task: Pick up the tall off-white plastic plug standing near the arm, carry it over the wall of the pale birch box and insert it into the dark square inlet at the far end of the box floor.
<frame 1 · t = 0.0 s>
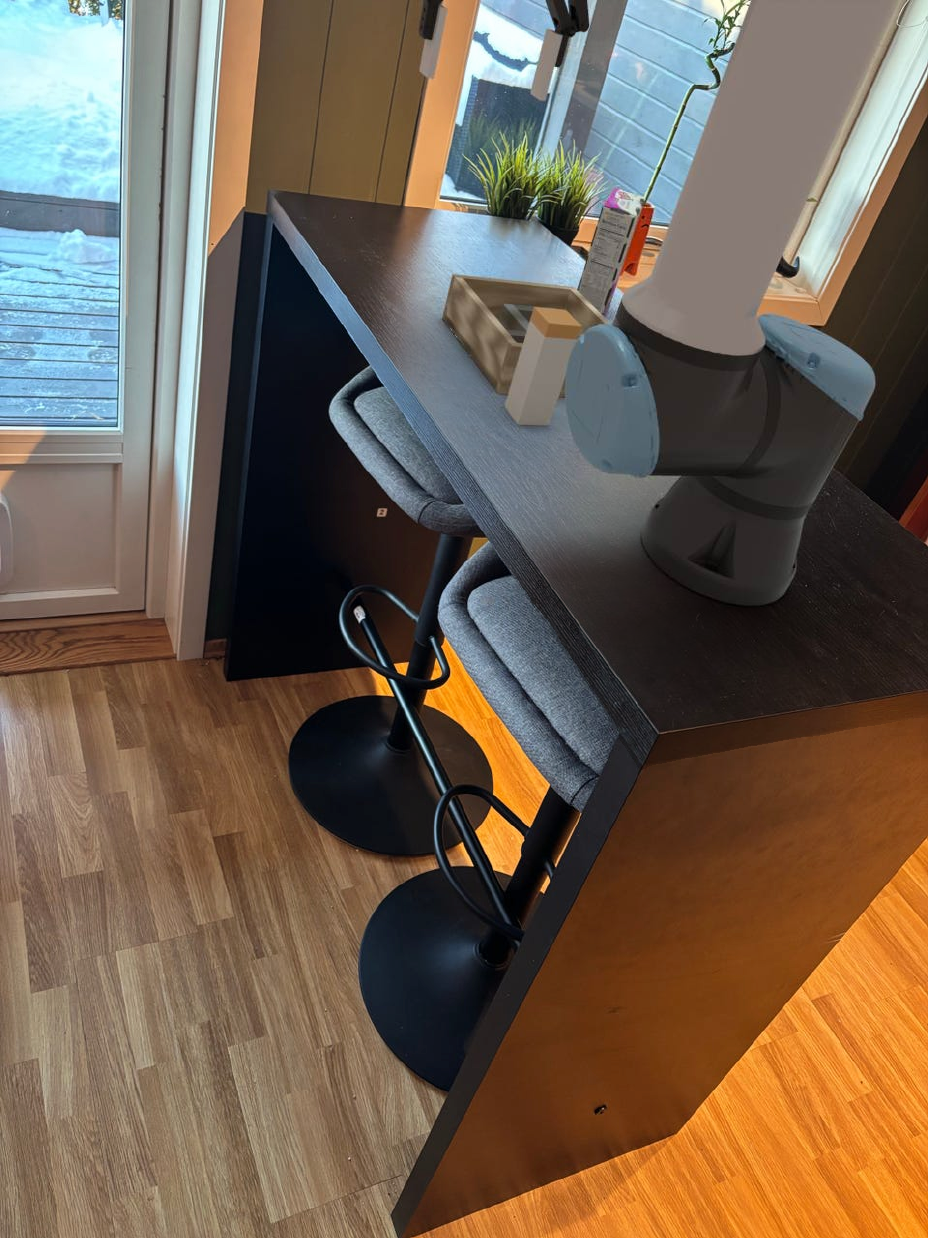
hand: (483, 86, 105), 28 cm above the table, fingers open, 13 cm apart
walled box: (532, 358, 122), on the table
candy bar box: (587, 315, 140), on the table
plug: (526, 416, 109), on the table
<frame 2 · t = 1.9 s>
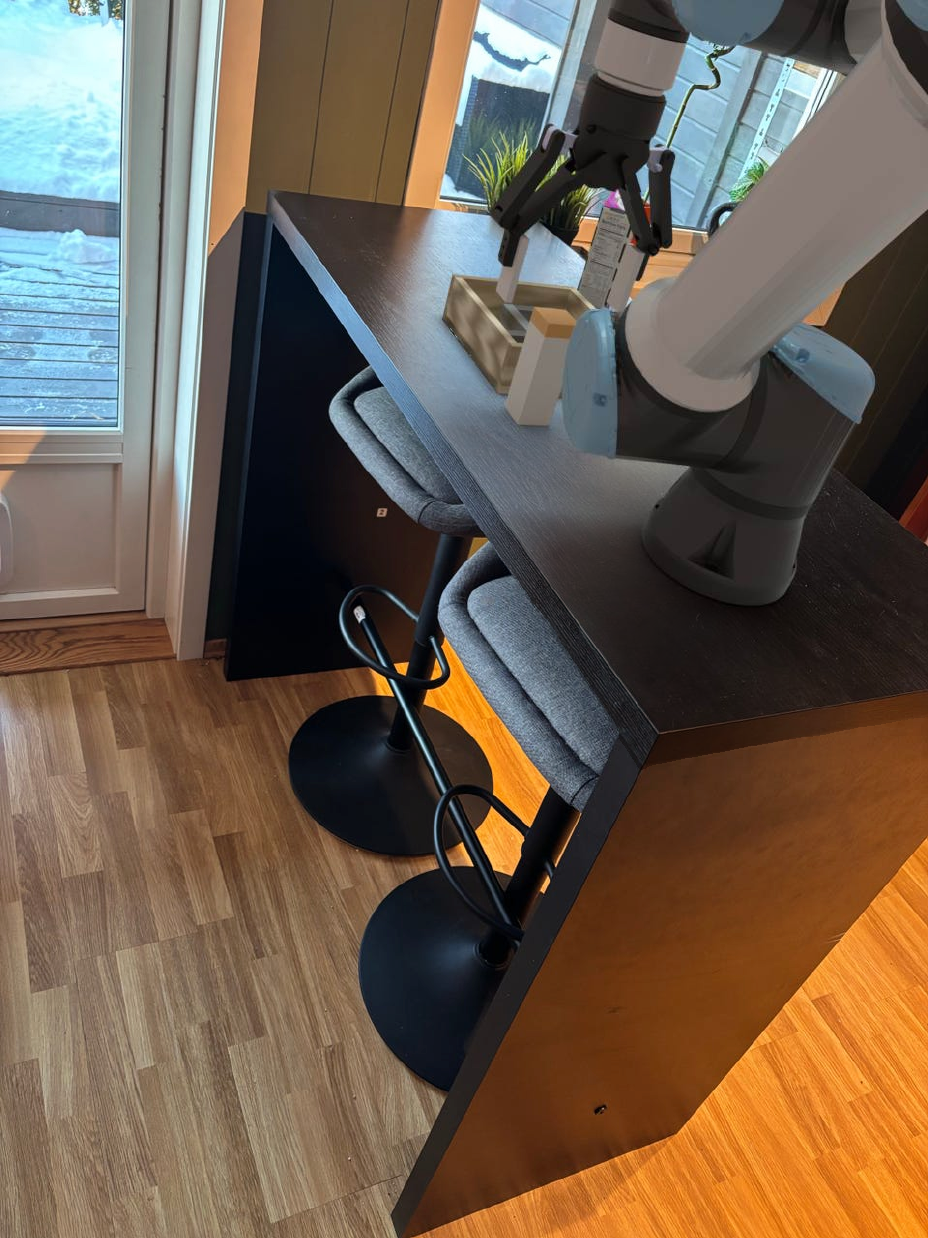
hand: (560, 302, 101), 13 cm above the table, fingers open, 13 cm apart
nothing on the table moved.
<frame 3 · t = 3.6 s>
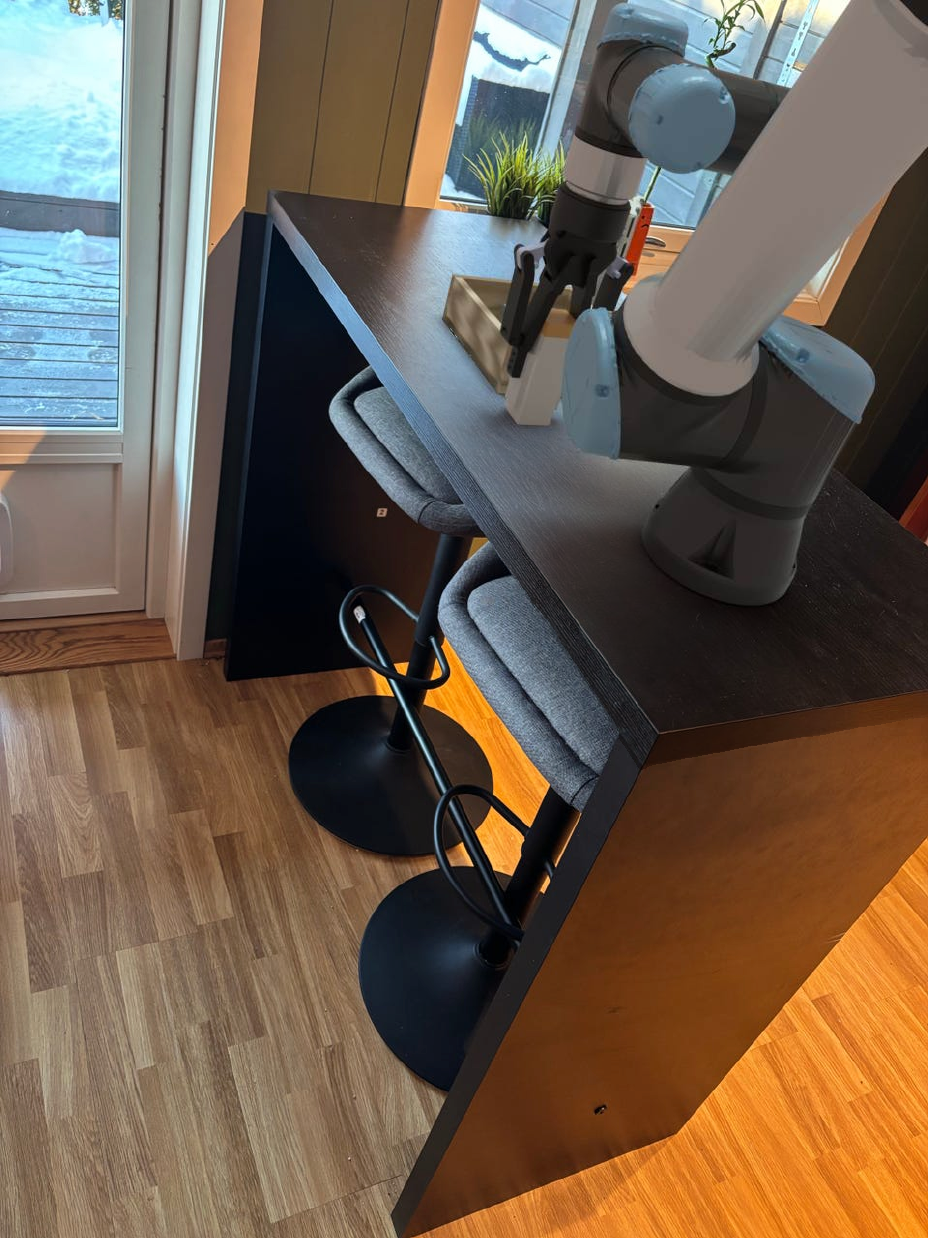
hand: (530, 402, 108), 2 cm above the table, fingers closed on plug, 4 cm apart
plug: (526, 416, 109), on the table, touching gripper
everything else where it was.
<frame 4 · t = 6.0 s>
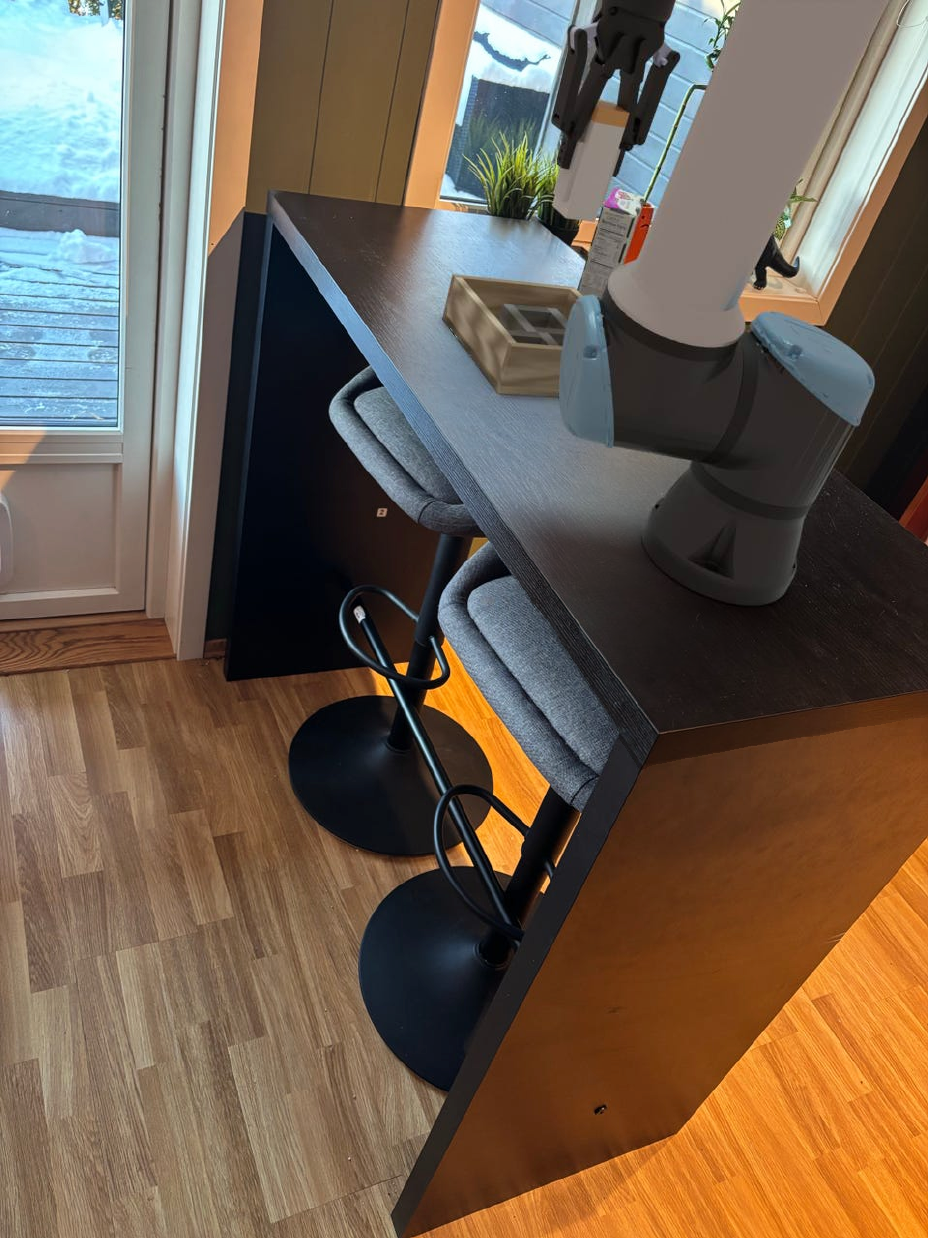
hand: (577, 199, 113), 19 cm above the table, fingers closed on plug, 4 cm apart
plug: (573, 213, 114), point 17 cm above the table, touching gripper
everything else where it was.
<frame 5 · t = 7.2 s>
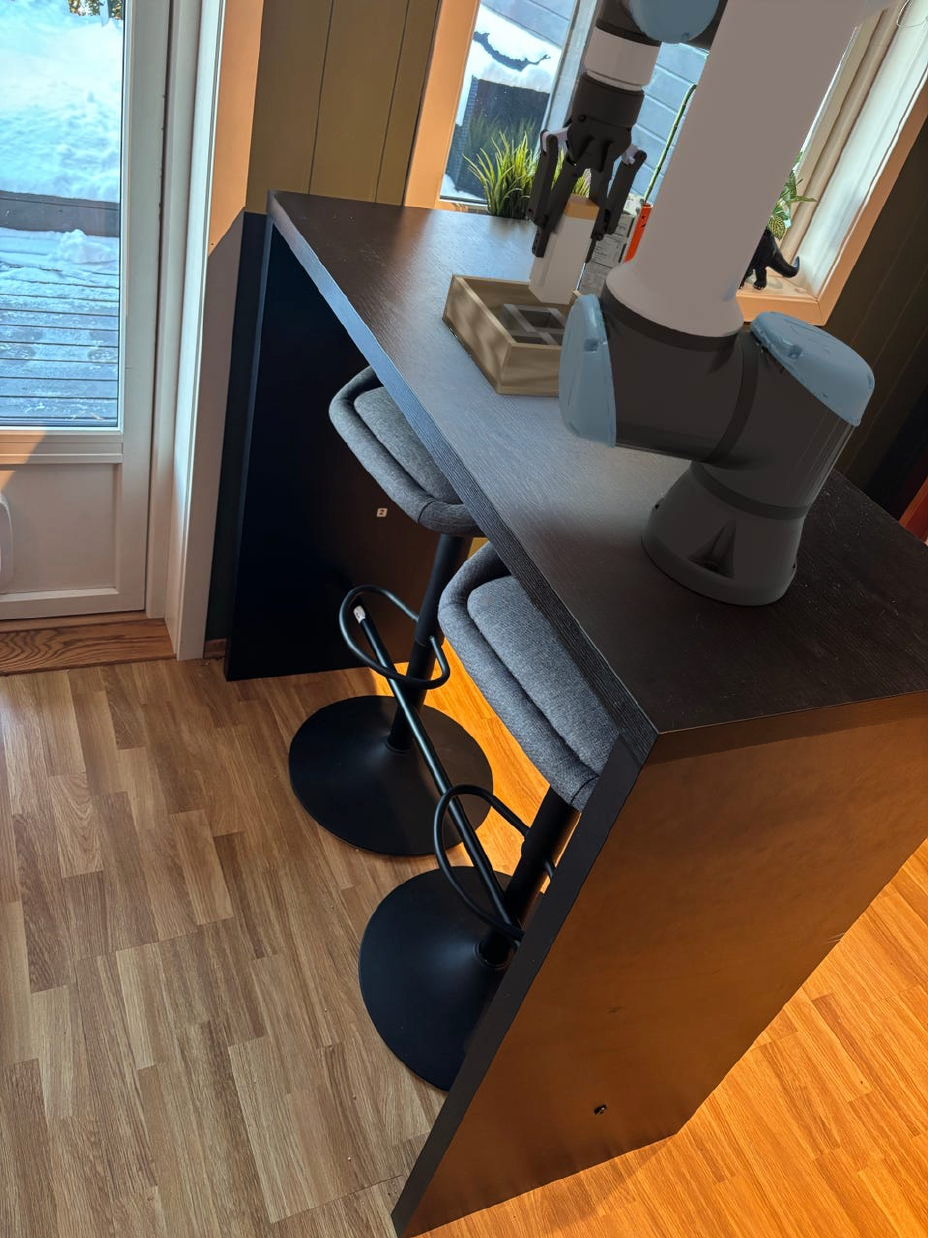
hand: (552, 283, 119), 9 cm above the table, fingers closed on plug, 4 cm apart
plug: (548, 296, 121), point 7 cm above the table, touching gripper
everything else where it was.
when the fingers open (5 cm above the table, at t = 8.3 s): plug drops 2 cm, resting on walled box.
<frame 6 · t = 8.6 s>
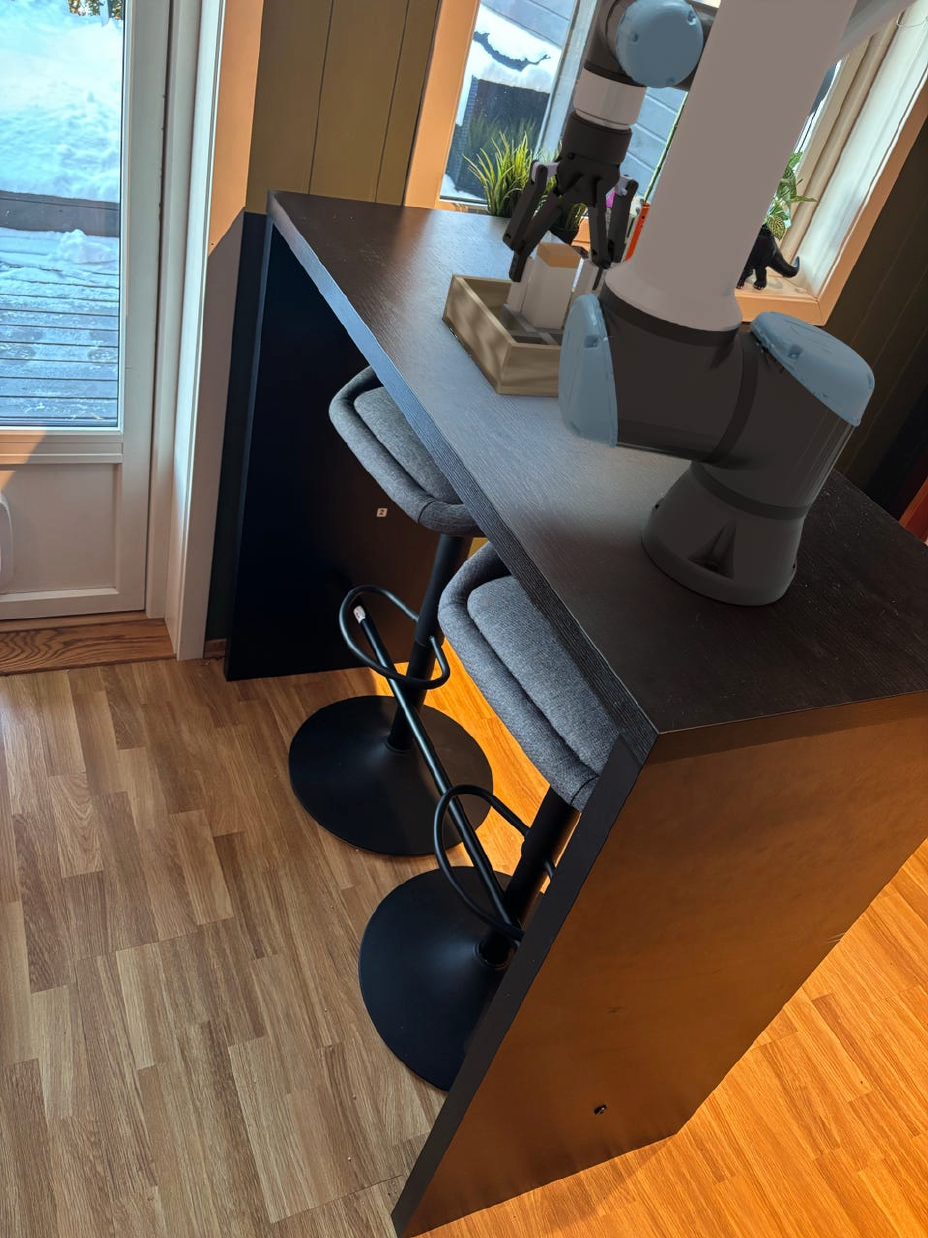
hand: (545, 309, 121), 5 cm above the table, fingers open, 8 cm apart
plug: (535, 340, 124), point 1 cm above the table, touching walled box
everything else where it was.
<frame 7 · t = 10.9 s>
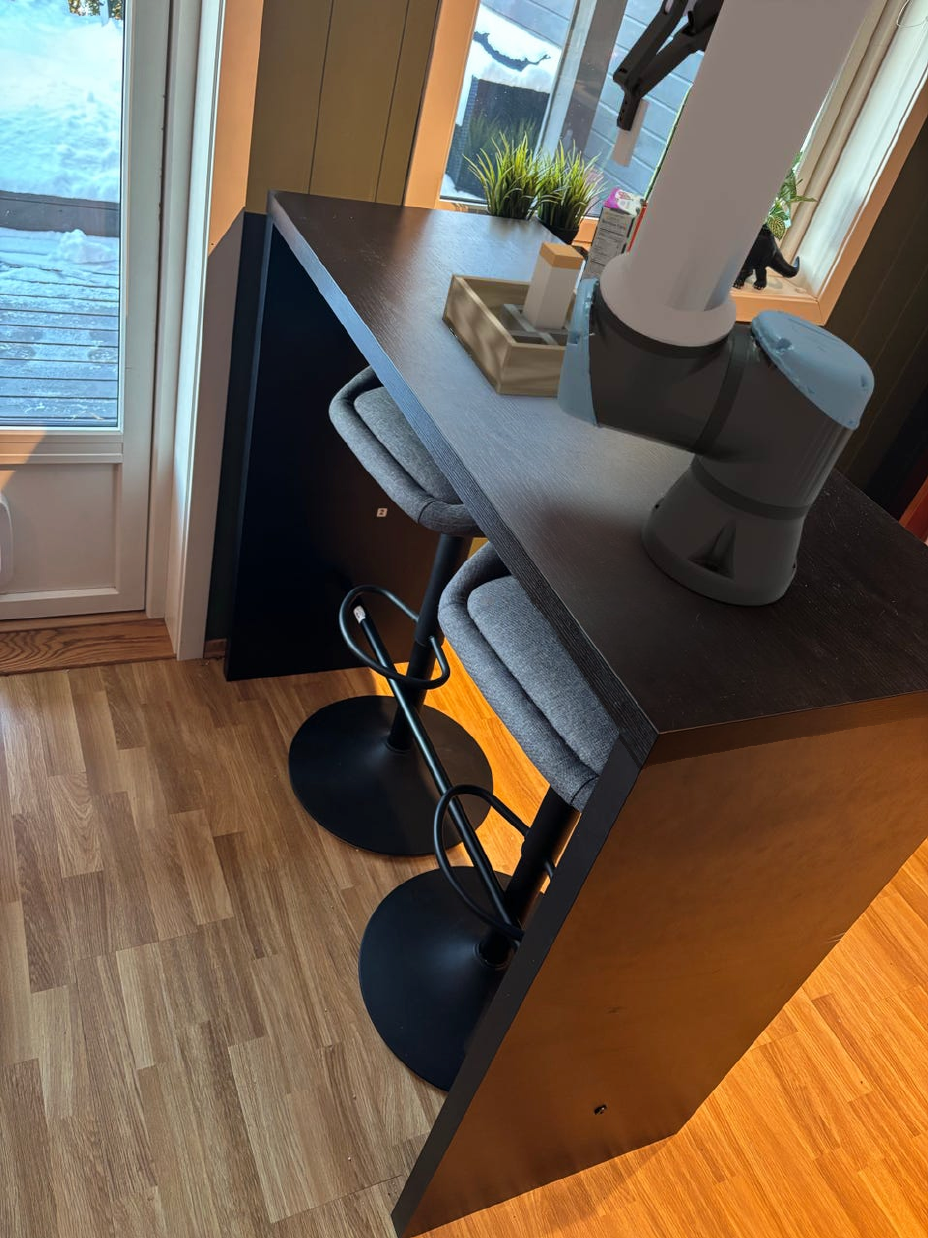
hand: (668, 172, 107), 25 cm above the table, fingers open, 13 cm apart
nothing on the table moved.
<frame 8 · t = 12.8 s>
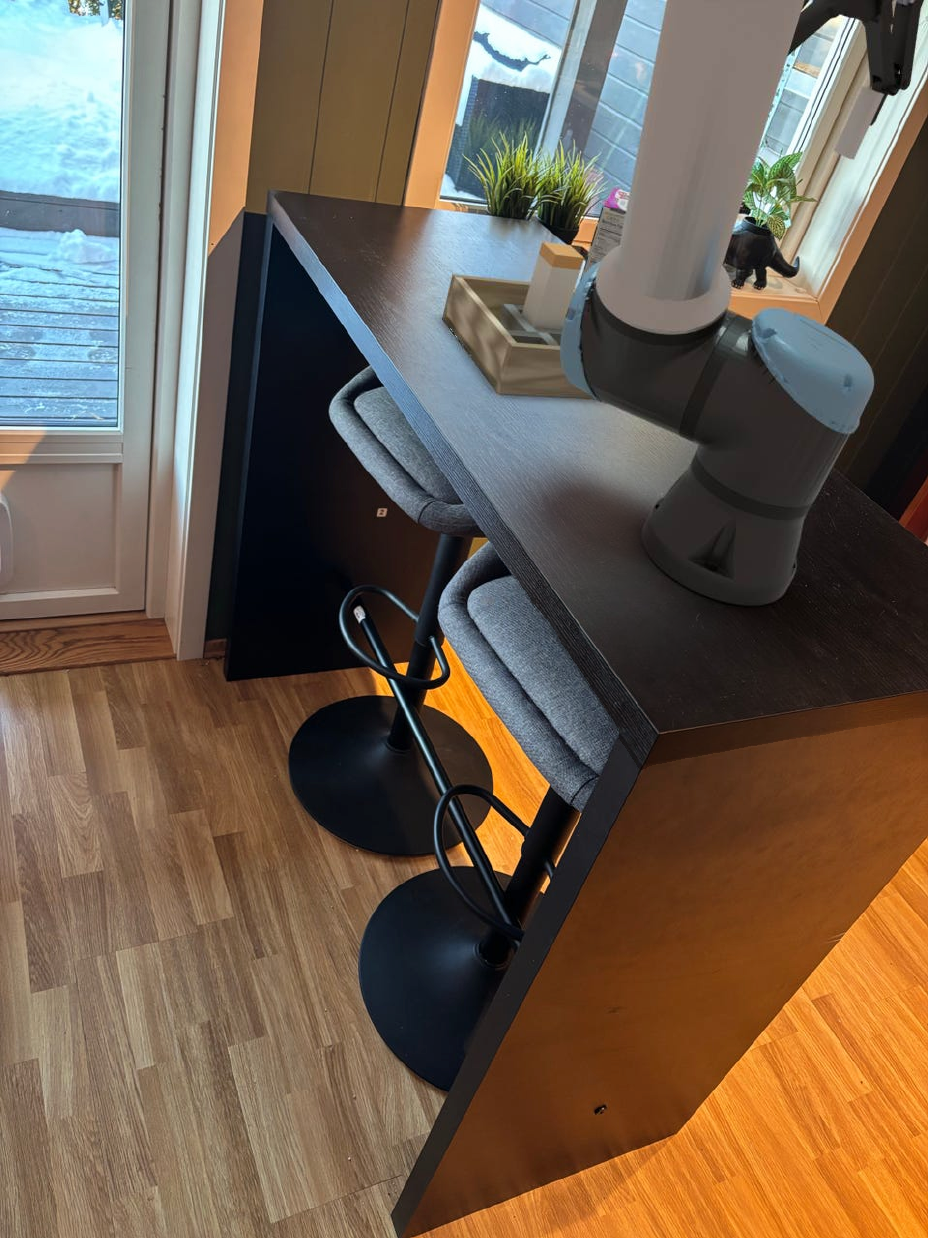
hand: (796, 145, 101), 32 cm above the table, fingers open, 13 cm apart
nothing on the table moved.
at the end: plug 0.0 cm from the target spot, point 1.0 cm above the table; plug tilted 0°; the gripper is holding nothing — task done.
